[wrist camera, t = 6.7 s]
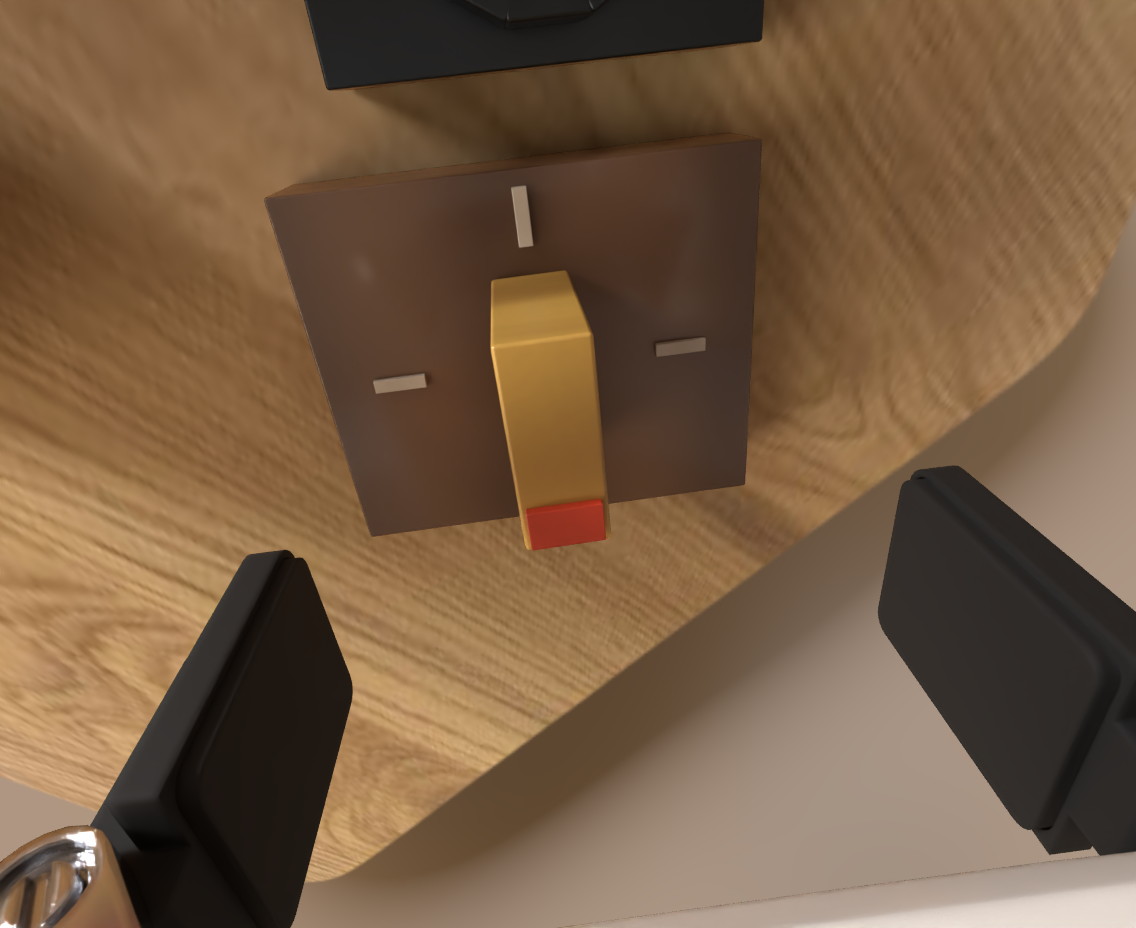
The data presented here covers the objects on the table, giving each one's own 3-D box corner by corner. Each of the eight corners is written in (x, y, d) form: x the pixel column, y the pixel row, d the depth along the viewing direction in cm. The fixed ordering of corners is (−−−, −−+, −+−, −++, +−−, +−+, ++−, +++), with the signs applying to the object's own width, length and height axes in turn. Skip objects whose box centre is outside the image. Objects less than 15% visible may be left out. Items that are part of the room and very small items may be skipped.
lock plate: (730, 132, 18) (765, 139, 15) (721, 447, 23) (747, 488, 21) (291, 184, 17) (260, 199, 15) (382, 494, 22) (369, 541, 20)
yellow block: (490, 279, 17) (489, 351, 12) (567, 269, 17) (595, 336, 12) (518, 448, 19) (526, 558, 15) (585, 438, 19) (613, 546, 15)
